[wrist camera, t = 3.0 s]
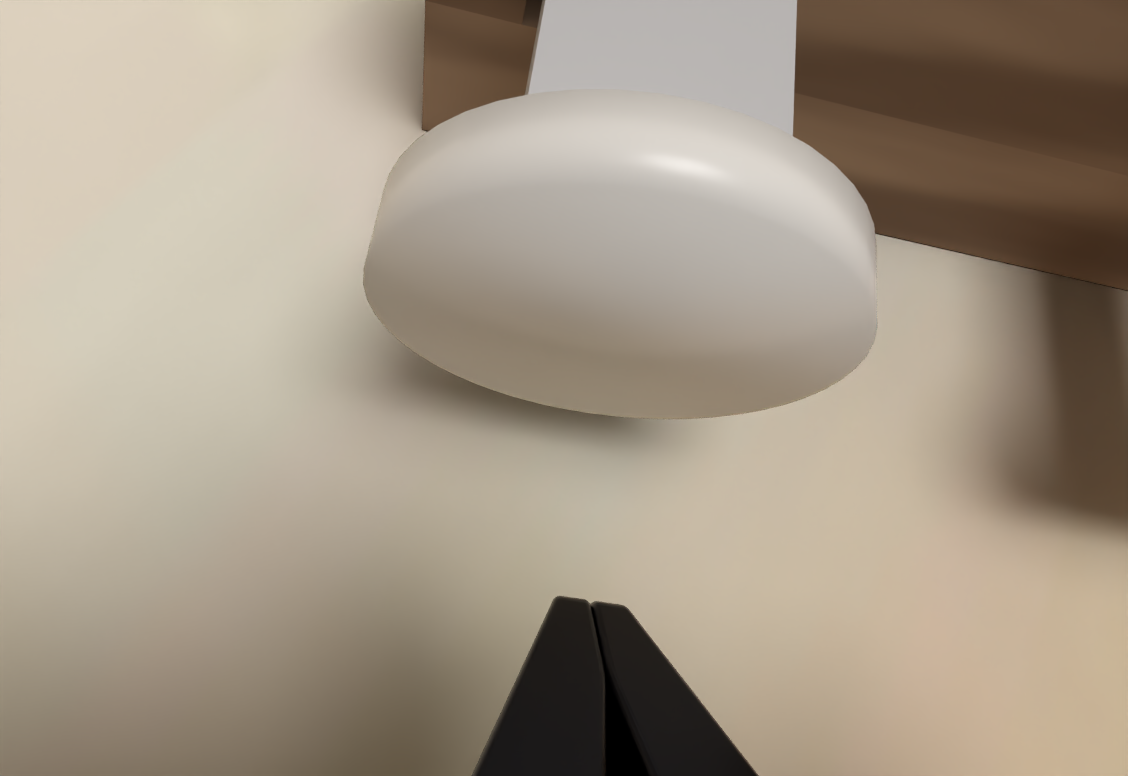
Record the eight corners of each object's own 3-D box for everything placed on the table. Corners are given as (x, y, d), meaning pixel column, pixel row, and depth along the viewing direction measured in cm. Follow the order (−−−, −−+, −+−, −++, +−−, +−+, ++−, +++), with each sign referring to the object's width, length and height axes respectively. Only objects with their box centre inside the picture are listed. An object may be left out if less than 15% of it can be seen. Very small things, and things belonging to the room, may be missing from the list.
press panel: (1220, 311, 22) (1705, 98, 13) (422, 129, 19) (432, -278, 11) (1196, 190, 23) (1623, -69, 15) (452, 3, 20) (481, -438, 12)
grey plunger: (746, 443, 15) (1008, 267, 8) (373, 373, 14) (343, 116, 7) (764, 64, 18) (963, -273, 12) (464, -12, 17) (498, -424, 11)
